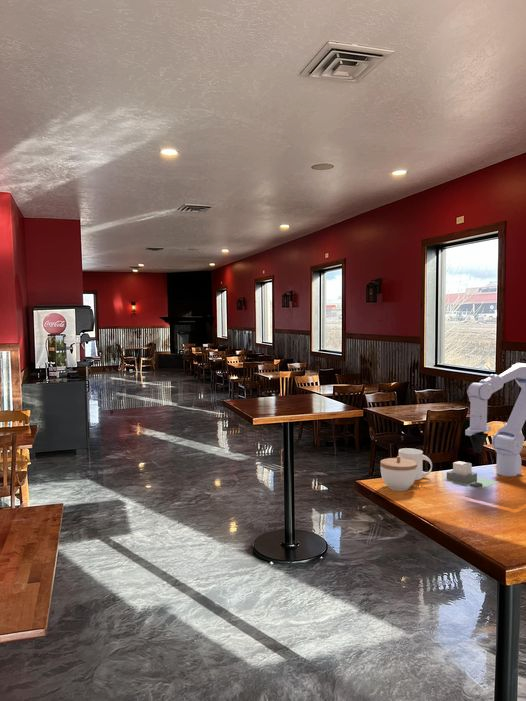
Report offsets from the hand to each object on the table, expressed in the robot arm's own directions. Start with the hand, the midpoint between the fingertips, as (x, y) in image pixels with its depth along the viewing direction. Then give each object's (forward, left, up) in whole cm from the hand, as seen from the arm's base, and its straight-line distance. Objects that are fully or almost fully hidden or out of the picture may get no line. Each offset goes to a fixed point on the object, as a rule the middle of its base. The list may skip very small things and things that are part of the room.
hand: (477, 452), depth 203 cm
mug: (+16, -16, -11) cm, 25 cm away
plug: (+3, -3, -9) cm, 10 cm away
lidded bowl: (+29, -14, -11) cm, 34 cm away
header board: (+5, 0, -10) cm, 11 cm away
